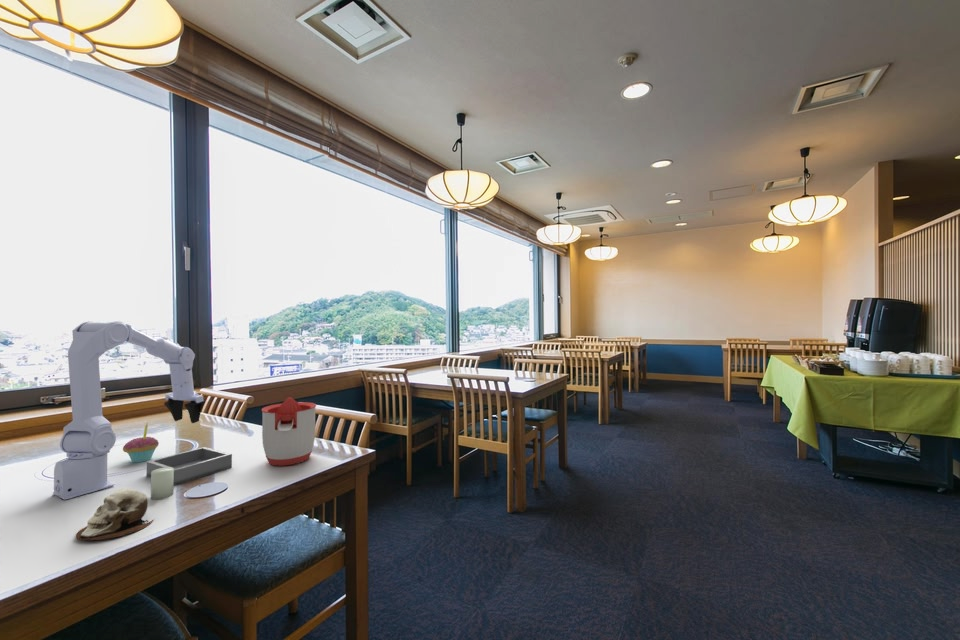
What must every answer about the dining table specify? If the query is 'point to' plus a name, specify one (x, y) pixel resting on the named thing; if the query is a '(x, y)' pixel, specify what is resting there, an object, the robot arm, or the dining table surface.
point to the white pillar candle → (162, 483)
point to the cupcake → (141, 447)
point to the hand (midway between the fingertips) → (186, 421)
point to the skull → (117, 516)
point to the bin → (192, 464)
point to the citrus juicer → (288, 431)
